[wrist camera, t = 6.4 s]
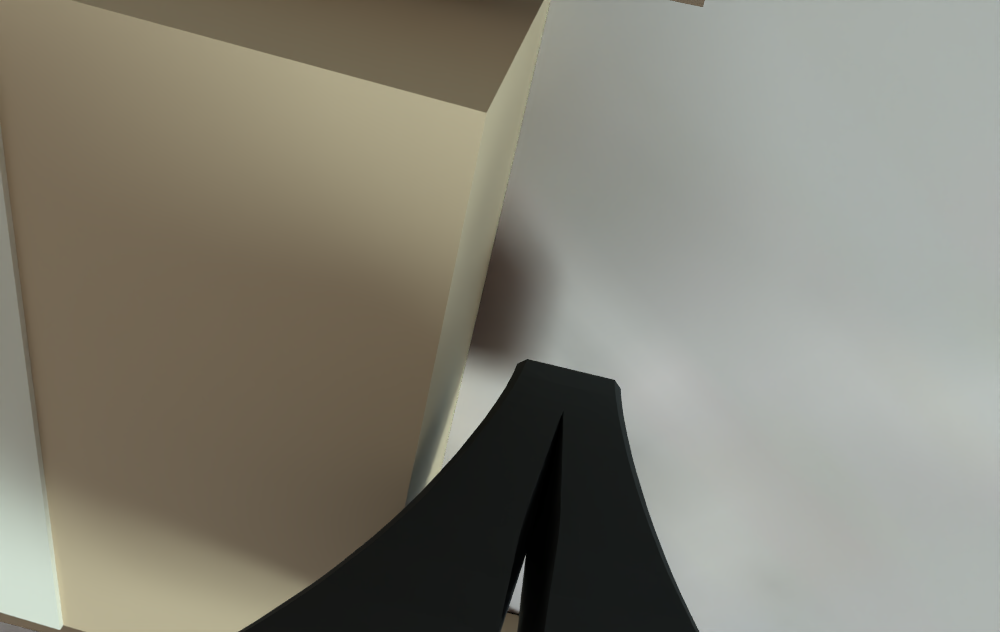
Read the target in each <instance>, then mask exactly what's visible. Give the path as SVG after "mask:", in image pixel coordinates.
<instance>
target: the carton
mask: <svg viewBox="0 0 1000 632" xmlns="http://www.w3.org/2000/svg"><path fill="white" fill-rule="evenodd" d="M550 1H551V0H0V612H1V613H4V614H7V615H11V616H14V617H18V618H21V619H24V620H28V621H31V622H35V623H38V624H41V625H45V626H48V627H51V628H55V629H58V630H60V629H61V628H62V626H63V625H64V626H68V627H71V628H74V629H78V630H81V631H84V632H238V631H240V630H242V629H243V628H245V627H247V626H248V625H250V624H252V623H253V622H255V621H257V620H258V619H260V618H261V617H263V616H264V615H266V614H267V613H269V612H270V611H272V610H273V609H275V608H276V607H278V606H279V605H281V604H282V603H284V602H285V601H287V600H288V599H290V598H291V597H293V596H294V595H296V594H297V593H299V592H300V591H302V590H303V589H305V588H306V587H308V586H309V585H311V584H312V583H314V582H315V581H316V580H318V579H319V578H321V577H322V576H323V575H325V574H326V573H327V572H329V571H330V570H331V569H333V568H334V567H335V566H337V565H338V564H339V563H340V562H342V561H343V560H344V559H345V558H347V557H348V556H349V555H350V554H352V553H353V552H354V551H355V550H357V549H358V548H359V547H360V546H362V545H363V544H364V543H365V542H367V541H368V540H369V539H370V538H372V537H373V536H374V535H375V534H376V533H377V532H378V531H380V530H381V529H382V528H383V527H384V526H385V525H386V524H387V523H389V522H390V521H391V520H392V519H393V518H394V517H395V516H396V515H397V514H399V513H400V512H401V511H402V510H403V509H404V508H405V507H406V506H407V505H408V504H409V503H410V502H411V501H412V500H413V499H414V498H415V497H416V496H417V495H418V494H419V493H420V492H421V491H422V490H423V489H424V488H425V487H426V486H427V485H428V484H429V483H430V482H431V481H432V479H433V478H434V477H435V476H436V475H437V474H438V473H439V472H440V471H441V467H442V463H443V459H444V455H445V450H446V446H447V442H448V437H449V433H450V429H451V425H452V420H453V416H454V412H455V407H456V403H457V399H458V395H459V390H460V386H461V382H462V377H463V373H464V369H465V365H466V360H467V356H468V352H469V347H470V343H471V339H472V335H473V330H474V326H475V322H476V318H477V313H478V309H479V305H480V300H481V296H482V292H483V288H484V283H485V279H486V275H487V270H488V266H489V262H490V258H491V253H492V249H493V245H494V240H495V236H496V232H497V228H498V223H499V219H500V215H501V210H502V206H503V202H504V198H505V193H506V189H507V185H508V180H509V176H510V172H511V168H512V163H513V159H514V155H515V151H516V146H517V142H518V138H519V133H520V129H521V125H522V121H523V116H524V112H525V108H526V103H527V99H528V95H529V91H530V86H531V82H532V78H533V73H534V69H535V65H536V61H537V56H538V52H539V48H540V43H541V39H542V35H543V31H544V26H545V22H546V18H547V13H548V9H549V5H550Z"/></svg>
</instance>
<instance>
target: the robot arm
mask: <svg viewBox="0 0 1000 632" xmlns="http://www.w3.org/2000/svg"><path fill="white" fill-rule="evenodd" d="M525 555H526V559H525V568H524V577H523V585H522V594H521V603H520V612H519V620H518V629H517V632H699V630H698V628H697V626H696V624H695V622H694V620H693V618H692V616H691V614H690V612H689V610H688V608H687V606H686V604H685V601H684V599H683V597H682V595H681V593H680V591H679V589H678V586H677V584H676V582H675V579H674V577H673V575H672V572H671V570H670V568H669V565H668V563H667V560H666V558H665V555H664V553H663V550H662V547H661V545H660V542H659V540H658V537H657V534H656V532H655V529H654V526H653V523H652V520H651V517H650V515H649V512H648V509H647V506H646V502H645V499H644V496H643V492H642V489H641V486H640V483H639V479H638V476H637V473H636V469H635V465H634V462H633V458H632V454H631V450H630V445H629V441H628V436H627V432H626V427H625V422H624V416H623V409H622V401H621V389H620V387H619V386H618V384H617V383H616V381H615V380H612V379H608V378H604V377H600V376H596V375H592V374H587V373H583V372H579V371H575V370H571V369H567V368H562V367H558V366H554V365H550V364H546V363H542V362H537V361H533V360H529V359H526V360H524V361H522V362H520V363H518V364H517V366H516V368H515V371H514V373H513V375H512V377H511V379H510V381H509V382H508V384H507V386H506V388H505V389H504V391H503V392H502V394H501V396H500V397H499V399H498V400H497V402H496V403H495V404H494V406H493V407H492V409H491V410H490V412H489V413H488V414H487V416H486V417H485V419H484V420H483V421H482V422H481V424H480V425H479V426H478V427H477V429H476V430H475V431H474V432H473V434H472V435H471V436H470V437H469V439H468V440H467V441H466V442H465V444H464V445H463V446H462V447H461V449H460V450H459V451H458V452H457V453H456V455H455V456H454V457H453V458H452V459H451V460H450V461H449V462H448V463H447V464H446V466H445V467H444V468H443V469H442V470H441V471H440V472H439V473H438V474H437V475H436V476H435V477H434V478H433V479H432V481H431V482H430V483H429V484H428V485H427V486H426V487H425V488H424V489H423V490H422V491H421V492H420V493H419V494H418V495H417V496H416V497H415V498H414V499H413V500H412V501H411V502H410V503H409V504H408V505H407V506H406V507H405V508H404V509H403V510H402V511H401V512H400V513H399V514H397V515H396V516H395V517H394V518H393V519H392V520H391V521H390V522H389V523H387V524H386V525H385V526H384V527H383V528H382V529H381V530H380V531H378V532H377V533H376V534H375V535H374V536H373V537H372V538H370V539H369V540H368V541H367V542H365V543H364V544H363V545H362V546H360V547H359V548H358V549H357V550H355V551H354V552H353V553H352V554H350V555H349V556H348V557H347V558H345V559H344V560H343V561H342V562H340V563H339V564H338V565H337V566H335V567H334V568H333V569H331V570H330V571H329V572H327V573H326V574H325V575H323V576H322V577H321V578H319V579H318V580H316V581H315V582H314V583H312V584H311V585H309V586H308V587H306V588H305V589H303V590H302V591H300V592H299V593H297V594H296V595H294V596H293V597H291V598H290V599H288V600H287V601H285V602H284V603H282V604H281V605H279V606H278V607H276V608H275V609H273V610H272V611H270V612H269V613H267V614H266V615H264V616H263V617H261V618H260V619H258V620H257V621H255V622H253V623H252V624H250V625H248V626H247V627H245V628H243V629H242V630H240V631H238V632H501V629H502V626H503V623H504V620H505V617H506V614H507V611H508V607H509V604H510V601H511V598H512V595H513V592H514V589H515V586H516V583H517V580H518V577H519V574H520V571H521V568H522V565H523V561H524V558H525Z"/></svg>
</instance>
